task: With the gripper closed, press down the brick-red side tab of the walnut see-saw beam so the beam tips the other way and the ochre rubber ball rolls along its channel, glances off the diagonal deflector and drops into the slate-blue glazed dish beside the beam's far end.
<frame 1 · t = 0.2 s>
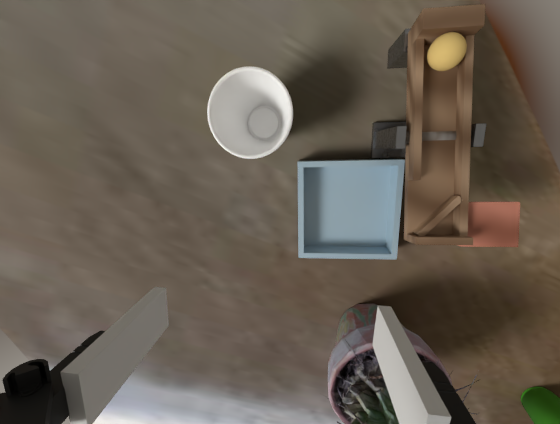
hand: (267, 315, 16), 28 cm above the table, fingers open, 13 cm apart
ball: (446, 52, 28), point 10 cm above the table, tilted 10°, touching brown wooden trough
fulcrum: (405, 139, 39), on the table
potted plant: (371, 326, 47), on the table
dish: (344, 206, 42), on the table
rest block: (411, 57, 36), on the table
brown wooden trough: (466, 135, 29), point 10 cm above the table, hinge at 10.0°, touching ball
cup: (264, 123, 41), on the table
cup 2: (534, 396, 47), on the table
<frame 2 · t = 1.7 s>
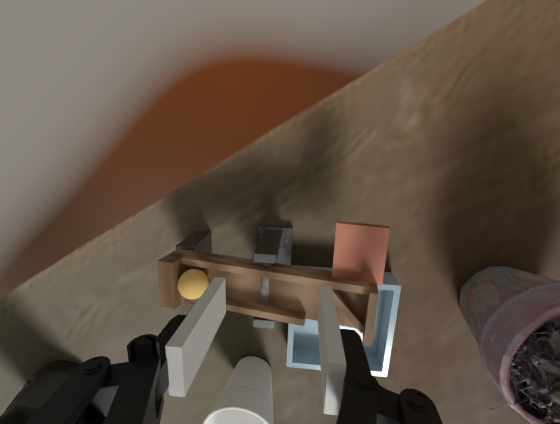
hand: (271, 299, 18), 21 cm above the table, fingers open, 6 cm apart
ball: (193, 283, 31), point 10 cm above the table, tilted 10°, touching brown wooden trough
fulcrum: (274, 256, 40), on the table
potted plant: (494, 290, 38), on the table
dish: (337, 311, 41), on the table
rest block: (204, 251, 41), on the table
brown wooden trough: (264, 270, 29), point 10 cm above the table, hinge at 10.0°, touching ball
cup: (253, 368, 45), on the table
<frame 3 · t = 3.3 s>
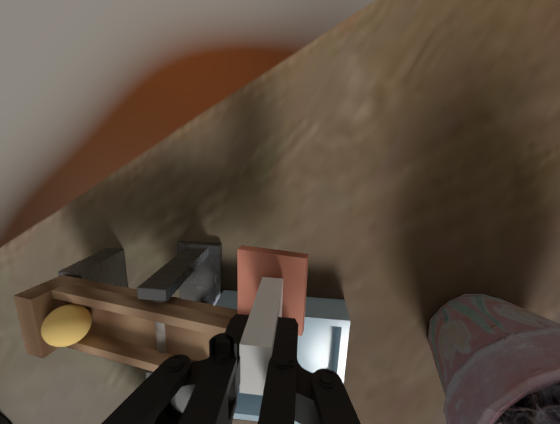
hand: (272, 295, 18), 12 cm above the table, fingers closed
ball: (67, 324, 23), point 10 cm above the table, tilted 10°, touching brown wooden trough
fulcrum: (202, 279, 32), on the table
potted plant: (471, 322, 31), on the table
dish: (281, 346, 33), on the table
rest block: (117, 272, 33), on the table
brown wooden trough: (152, 310, 21), point 10 cm above the table, hinge at 9.8°, touching ball, gripper
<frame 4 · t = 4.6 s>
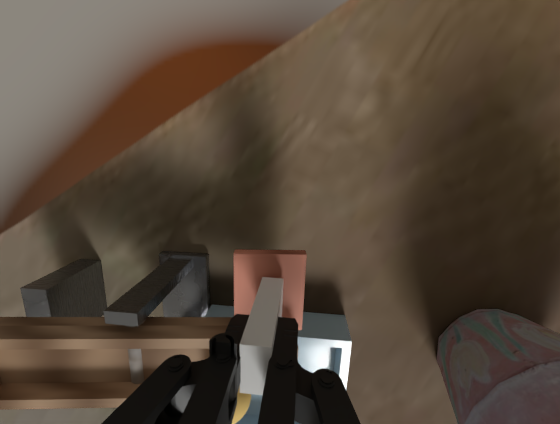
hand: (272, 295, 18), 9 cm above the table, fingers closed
ball: (226, 395, 19), point 10 cm above the table, tilted 115°, touching brown wooden trough
fulcrum: (187, 292, 29), on the table
potted plant: (484, 340, 28), on the table
dish: (275, 365, 30), on the table
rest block: (94, 285, 30), on the table
brown wooden trough: (129, 336, 18), point 10 cm above the table, hinge at -7.5°, touching ball, gripper
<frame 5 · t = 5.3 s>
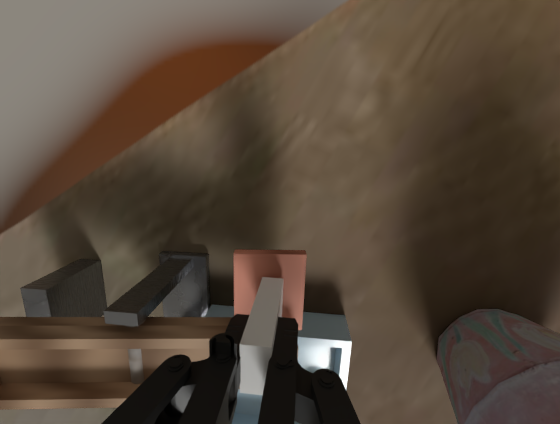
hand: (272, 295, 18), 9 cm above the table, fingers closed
fulcrum: (187, 292, 29), on the table
potted plant: (484, 340, 28), on the table
dish: (275, 365, 30), on the table
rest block: (94, 285, 30), on the table
brown wooden trough: (129, 336, 18), point 10 cm above the table, hinge at -7.5°, touching gripper
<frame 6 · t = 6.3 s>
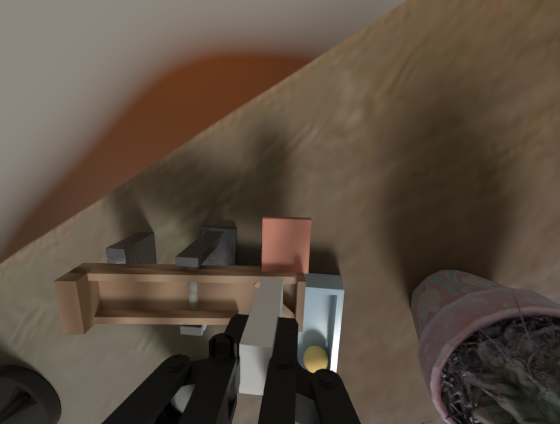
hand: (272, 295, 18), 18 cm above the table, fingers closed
ball: (315, 359, 37), point 3 cm above the table, tilted 61°, touching dish
fulcrum: (220, 258, 38), on the table
potted plant: (447, 294, 36), on the table
dish: (286, 316, 39), on the table
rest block: (148, 253, 39), on the table
brown wooden trough: (191, 274, 27), point 10 cm above the table, hinge at -7.5°
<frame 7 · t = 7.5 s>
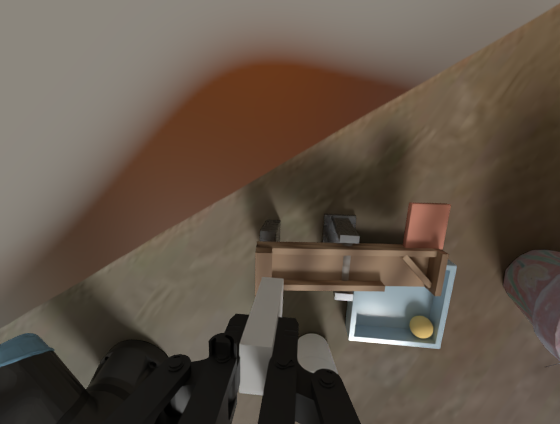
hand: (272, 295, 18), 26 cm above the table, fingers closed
ball: (421, 326, 44), point 3 cm above the table, tilted 66°, touching dish
fulcrum: (337, 242, 44), on the table
potted plant: (535, 271, 43), on the table
dish: (391, 291, 46), on the table
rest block: (272, 237, 45), on the table
brown wooden trough: (352, 249, 34), point 10 cm above the table, hinge at -7.5°
cup: (312, 345, 50), on the table
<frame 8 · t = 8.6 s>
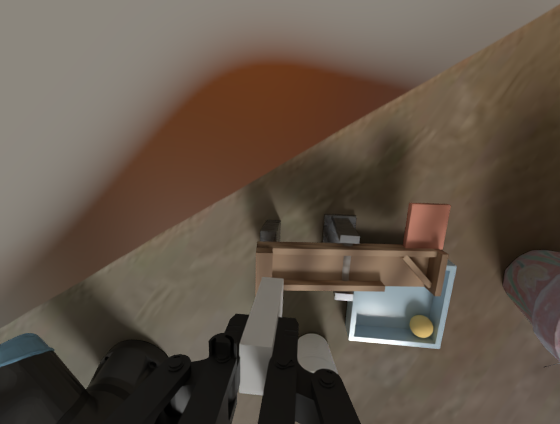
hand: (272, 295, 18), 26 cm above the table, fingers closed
ball: (421, 326, 44), point 3 cm above the table, tilted 71°, touching dish
fulcrum: (337, 242, 44), on the table
potted plant: (535, 271, 43), on the table
dish: (391, 292, 46), on the table
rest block: (273, 238, 45), on the table
brown wooden trough: (352, 249, 34), point 10 cm above the table, hinge at -7.5°
cup: (312, 345, 50), on the table
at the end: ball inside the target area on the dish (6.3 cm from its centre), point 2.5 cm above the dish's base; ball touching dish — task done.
